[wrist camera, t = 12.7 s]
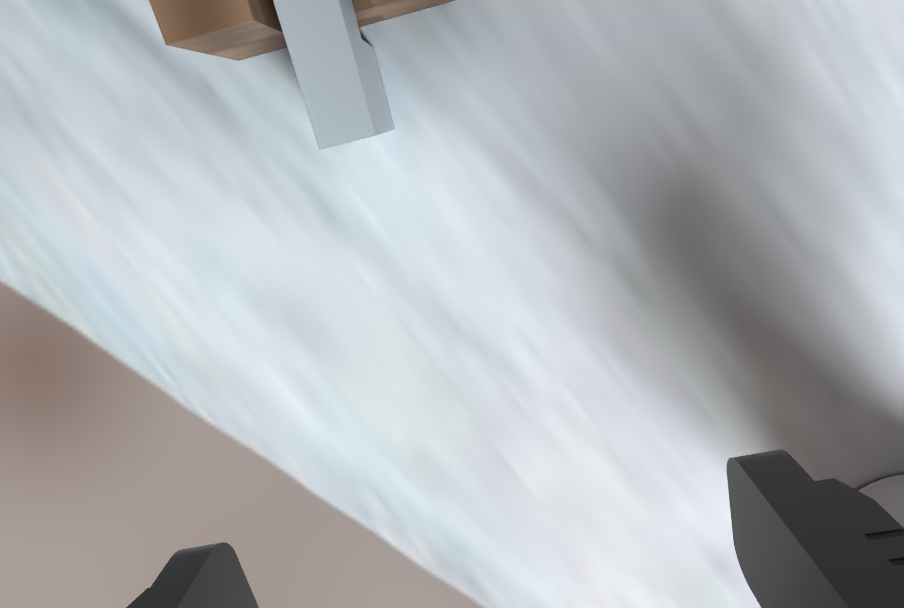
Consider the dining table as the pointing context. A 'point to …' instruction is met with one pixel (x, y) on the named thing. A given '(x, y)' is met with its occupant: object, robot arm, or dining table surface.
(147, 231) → the dining table surface
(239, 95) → the dining table surface
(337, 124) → the blue-grey plate
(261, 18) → the walnut stand
